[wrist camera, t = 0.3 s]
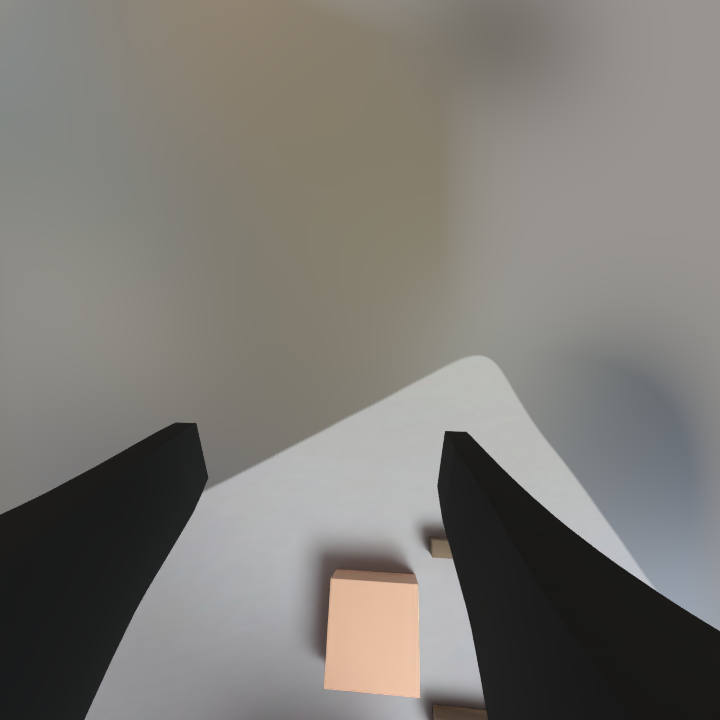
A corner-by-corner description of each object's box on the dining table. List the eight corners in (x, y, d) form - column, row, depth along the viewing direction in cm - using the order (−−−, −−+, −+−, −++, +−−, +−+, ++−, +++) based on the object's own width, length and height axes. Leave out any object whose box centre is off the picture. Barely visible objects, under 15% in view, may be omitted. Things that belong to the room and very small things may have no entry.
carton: (415, 672, 31) (420, 697, 28) (331, 664, 32) (323, 688, 28) (414, 573, 34) (418, 584, 30) (336, 568, 35) (330, 578, 31)
